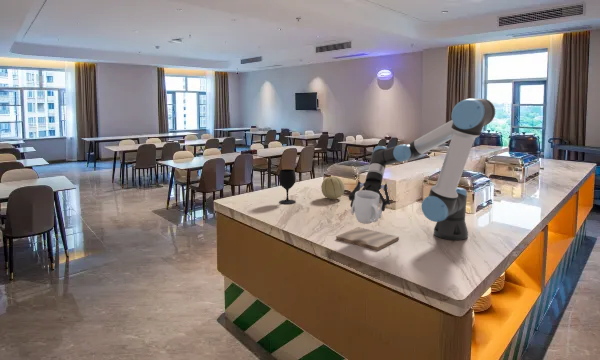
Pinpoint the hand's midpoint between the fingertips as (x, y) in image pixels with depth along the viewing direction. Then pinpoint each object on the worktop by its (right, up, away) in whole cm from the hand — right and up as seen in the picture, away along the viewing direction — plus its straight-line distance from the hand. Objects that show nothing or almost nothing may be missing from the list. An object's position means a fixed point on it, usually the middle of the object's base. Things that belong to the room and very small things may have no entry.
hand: (365, 215), depth 189 cm
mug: (+1, -4, +4) cm, 5 cm away
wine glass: (-37, +2, +72) cm, 81 cm away
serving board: (+2, -12, +4) cm, 12 cm away
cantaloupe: (-8, +3, +80) cm, 81 cm away
